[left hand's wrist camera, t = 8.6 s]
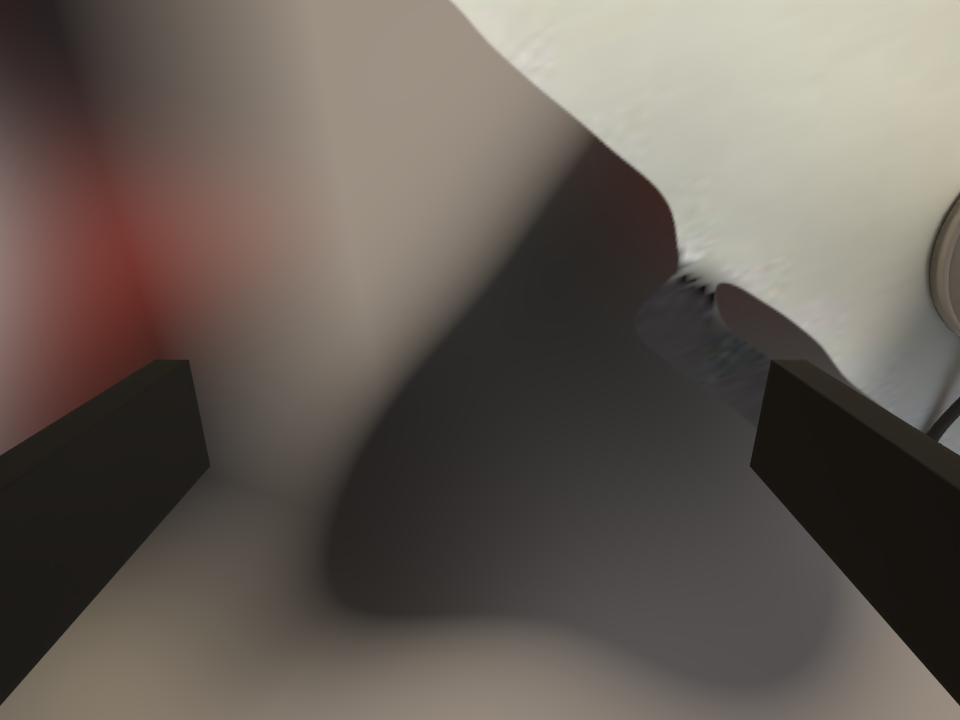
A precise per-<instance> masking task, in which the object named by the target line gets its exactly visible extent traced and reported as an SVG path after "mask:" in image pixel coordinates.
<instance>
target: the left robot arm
mask: <svg viewBox="0 0 960 720" xmlns="http://www.w3.org/2000/svg"><path fill="white" fill-rule="evenodd" d="M930 285H931V293H932V297H933V301H934V304H935V307H936V309H937V311H938V313H939V315H940V317H941V318H942V320H943V321H944V323H945V324H946V325H947V326H948V327H949V328H950V329H951V330H952V331H953V332H954V333H955V334H956V335H958V336H959V337H960V198H959V200H958V201H957V202H956V204H955V205H954V207H953V208H952V210H951V212H950V213H949V215H948V217H947V218H946V220H945V222H944V224H943V226H942V228H941V231H940V233H939V236H938V238H937V241H936V244H935V247H934V251H933V255H932V260H931V268H930ZM959 416H960V397H959V398H958V399H957V400H956V401H955V402H954V403H953V404H952V405H951V406H950V407H949V408H948V409H947V411H946V412H945V413H944V414H943V415H942V416H941V417H940V418H939V419H938V420H937V422H936V423H935V424H934V425H933V427H932V428H931V429H930V431H929V432H928V433H927V435H926V434H924V433H922V432H921V431H919V430H917V429H916V428H914V427H913V426H911V425H909V424H908V423H906V422H905V421H903V420H901V419H900V418H898V417H897V416H895V415H893V414H892V413H890V412H888V411H887V410H885V409H884V408H882V407H880V406H879V405H877V404H876V403H874V402H872V401H871V400H869V399H868V398H866V397H864V396H863V395H861V394H859V393H858V392H856V391H855V390H853V389H851V388H850V387H848V386H846V385H845V384H843V383H842V382H840V381H838V380H837V379H835V378H834V377H832V376H830V375H829V374H827V373H826V372H824V371H822V370H821V369H819V368H818V367H816V366H814V365H813V364H811V363H809V362H808V361H806V360H771V364H770V369H769V373H768V378H767V383H766V388H765V393H764V398H763V403H762V408H761V413H760V418H759V423H758V428H757V433H756V438H755V443H754V448H753V453H752V458H751V463H750V467H751V468H752V469H753V470H754V471H755V473H756V474H757V475H758V476H759V477H760V478H761V479H762V481H763V482H764V483H765V484H766V485H767V486H768V487H769V489H770V490H771V491H772V492H773V493H774V494H775V495H776V496H777V498H778V499H779V500H780V501H781V502H782V503H783V504H784V506H785V507H786V508H787V509H788V510H789V511H790V512H791V514H792V515H793V516H794V517H795V518H796V519H797V520H798V522H799V523H800V524H801V525H802V526H803V527H804V528H805V530H806V531H807V532H808V533H809V534H810V535H811V536H812V538H813V539H814V540H815V541H816V542H817V543H818V544H819V546H820V547H821V548H822V549H823V550H824V551H825V552H826V554H827V555H828V556H829V557H830V558H831V559H832V560H833V561H834V563H835V564H836V565H837V566H838V567H839V568H840V569H841V571H842V572H843V573H844V574H845V575H846V576H847V577H848V579H849V580H850V581H851V582H852V583H853V584H854V586H855V587H856V588H857V589H858V590H859V591H860V592H861V593H862V595H863V596H864V597H865V598H866V599H867V600H868V601H869V603H870V604H871V605H872V606H873V607H874V608H875V609H876V611H877V612H878V613H879V614H880V615H881V616H882V617H883V619H884V620H885V621H886V622H887V623H888V624H889V625H890V627H891V628H892V629H893V630H894V631H895V632H896V633H897V635H898V636H899V637H900V638H901V639H902V640H903V641H904V643H905V644H906V645H907V646H908V647H909V648H910V649H911V651H912V652H913V653H914V654H915V655H916V656H917V657H918V659H919V660H920V661H921V662H922V663H923V664H924V665H925V666H926V668H927V669H928V670H929V671H930V672H931V673H932V675H933V676H934V677H935V678H936V679H937V680H938V681H939V683H940V684H941V685H942V686H943V687H944V688H945V689H946V690H947V692H948V693H949V694H950V695H951V696H952V697H953V698H954V700H955V701H956V702H957V703H958V704H959V705H960V456H959V455H958V454H956V453H955V452H953V451H951V450H950V449H948V448H947V447H945V446H943V445H942V444H940V443H938V441H939V439H940V438H941V436H942V435H943V434H944V432H945V431H946V430H947V429H948V427H949V426H950V425H951V424H952V423H953V422H954V421H955V420H956V419H957V418H958V417H959ZM209 467H210V463H209V458H208V453H207V448H206V443H205V438H204V433H203V428H202V423H201V418H200V413H199V408H198V404H197V398H196V393H195V389H194V383H193V378H192V373H191V369H190V364H189V360H154V361H152V362H151V363H149V364H147V365H146V366H144V367H142V368H141V369H139V370H138V371H136V372H134V373H133V374H131V375H130V376H128V377H126V378H125V379H123V380H122V381H120V382H118V383H117V384H115V385H114V386H112V387H110V388H109V389H107V390H105V391H104V392H102V393H101V394H99V395H97V396H96V397H94V398H93V399H91V400H89V401H88V402H86V403H84V404H83V405H81V406H80V407H78V408H76V409H75V410H73V411H72V412H70V413H68V414H67V415H65V416H63V417H62V418H60V419H59V420H57V421H55V422H54V423H52V424H51V425H49V426H47V427H46V428H44V429H43V430H41V431H39V432H38V433H36V434H34V435H33V436H31V437H30V438H28V439H26V440H25V441H23V442H22V443H20V444H18V445H17V446H15V447H14V448H12V449H10V450H9V451H7V452H5V453H4V454H2V455H1V456H0V705H1V704H2V703H3V702H4V701H5V700H6V698H7V697H8V696H9V695H10V694H11V693H12V692H13V690H14V689H15V688H16V687H17V686H18V685H19V684H20V683H21V681H22V680H23V679H24V678H25V677H26V676H27V674H28V673H29V672H30V671H31V670H32V669H33V668H34V667H35V665H36V664H37V663H38V662H39V661H40V660H41V658H42V657H43V656H44V655H45V654H46V653H47V652H48V651H49V649H50V648H51V647H52V646H53V645H54V644H55V643H56V641H57V640H58V639H59V638H60V637H61V636H62V635H63V633H64V632H65V631H66V630H67V629H68V628H69V627H70V625H71V624H72V623H73V622H74V621H75V620H76V619H77V617H78V616H79V615H80V614H81V613H82V612H83V611H84V609H85V608H86V607H87V606H88V605H89V604H90V603H91V601H92V600H93V599H94V598H95V597H96V596H97V595H98V593H99V592H100V591H101V590H102V589H103V588H104V587H105V585H106V584H107V583H108V582H109V581H110V580H111V579H112V577H113V576H114V575H115V574H116V573H117V572H118V571H119V569H120V568H121V567H122V566H123V565H124V564H125V563H126V562H127V560H128V559H129V558H130V557H131V556H132V555H133V554H134V552H135V551H136V550H137V549H138V548H139V547H140V545H141V544H142V543H143V542H144V541H145V540H146V539H147V538H148V536H149V535H150V534H151V533H152V532H153V531H154V530H155V528H156V527H157V526H158V525H159V524H160V523H161V522H162V520H163V519H164V518H165V517H166V516H167V515H168V514H169V512H170V511H171V510H172V509H173V508H174V507H175V506H176V504H177V503H178V502H179V501H180V500H181V499H182V498H183V496H184V495H185V494H186V493H187V492H188V491H189V490H190V488H191V487H192V486H193V485H194V484H195V483H196V482H197V480H198V479H199V478H200V477H201V476H202V475H203V474H204V473H205V471H206V470H207V469H208V468H209Z"/></svg>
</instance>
